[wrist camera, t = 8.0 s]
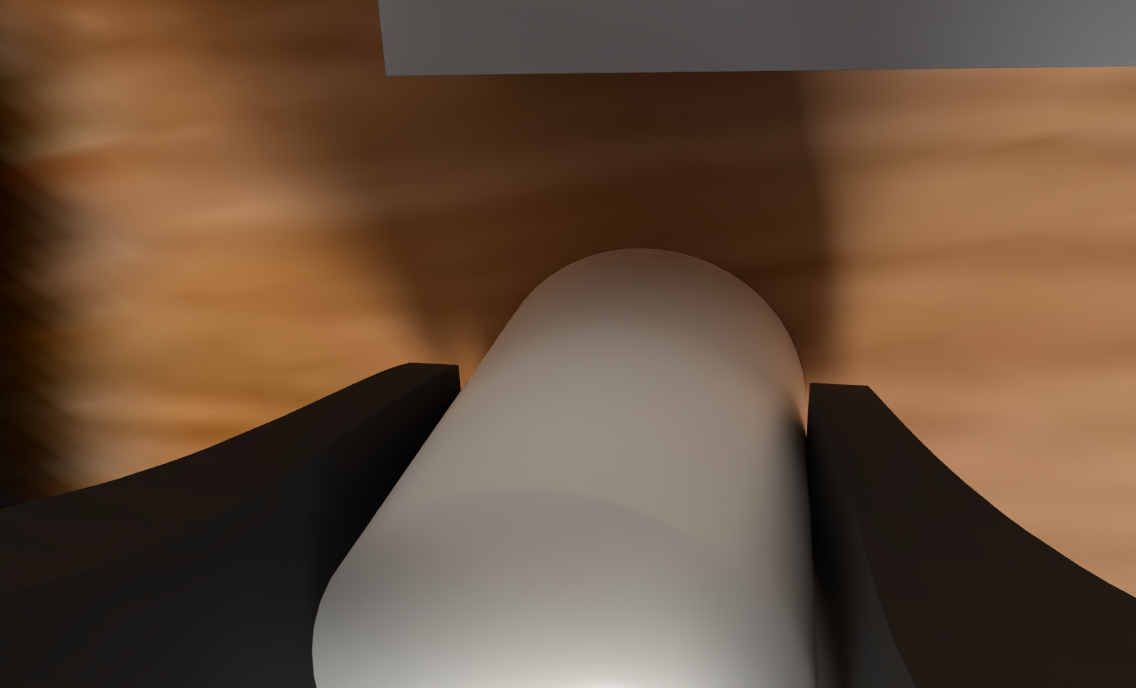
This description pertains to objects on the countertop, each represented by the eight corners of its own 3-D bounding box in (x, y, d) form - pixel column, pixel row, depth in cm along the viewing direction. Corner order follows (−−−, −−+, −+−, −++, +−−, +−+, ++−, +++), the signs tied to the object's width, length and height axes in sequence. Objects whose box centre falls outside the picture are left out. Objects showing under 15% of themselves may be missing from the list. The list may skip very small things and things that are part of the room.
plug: (719, 572, 13) (681, 959, 8) (456, 451, 13) (262, 762, 8) (865, 333, 11) (927, 641, 7) (560, 195, 12) (393, 397, 7)
